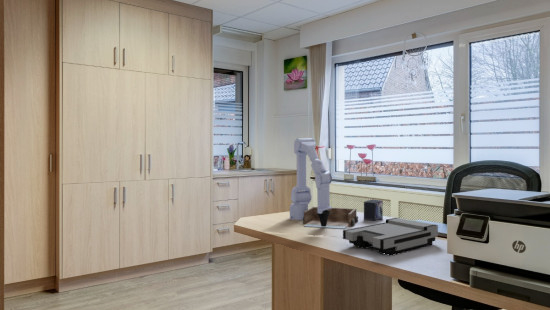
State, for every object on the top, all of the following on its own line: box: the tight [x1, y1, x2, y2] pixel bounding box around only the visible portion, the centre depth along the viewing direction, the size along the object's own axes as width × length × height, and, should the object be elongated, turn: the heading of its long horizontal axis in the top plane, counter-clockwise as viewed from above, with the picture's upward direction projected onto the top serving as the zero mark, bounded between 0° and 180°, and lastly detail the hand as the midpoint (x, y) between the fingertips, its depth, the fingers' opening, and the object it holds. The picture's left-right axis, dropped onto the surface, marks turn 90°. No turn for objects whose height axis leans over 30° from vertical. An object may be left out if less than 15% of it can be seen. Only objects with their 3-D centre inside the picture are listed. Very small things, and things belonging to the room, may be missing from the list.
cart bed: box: [302, 206, 359, 228], centre depth 215 cm, size 25×16×7 cm, turn 69°
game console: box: [342, 217, 439, 256], centre depth 170 cm, size 21×32×8 cm, turn 125°
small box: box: [363, 198, 384, 222], centre depth 222 cm, size 11×6×10 cm, turn 143°
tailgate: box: [302, 224, 347, 230], centre depth 204 cm, size 20×1×6 cm
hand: (323, 226), depth 202 cm, fingers closed
